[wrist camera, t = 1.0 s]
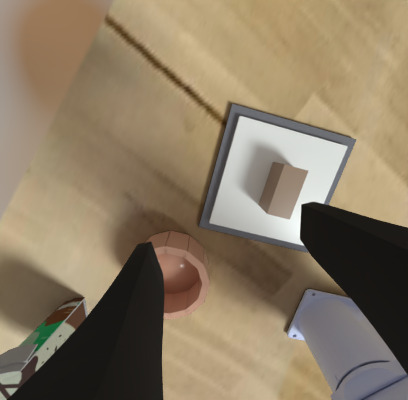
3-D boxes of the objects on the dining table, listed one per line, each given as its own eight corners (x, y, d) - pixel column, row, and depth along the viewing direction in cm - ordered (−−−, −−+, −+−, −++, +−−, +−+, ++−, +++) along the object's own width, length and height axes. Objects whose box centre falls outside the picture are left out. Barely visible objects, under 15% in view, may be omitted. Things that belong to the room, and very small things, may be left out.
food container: (35, 288, 27) (-56, 367, 18) (83, 287, 27) (18, 366, 18) (53, 360, 30) (-16, 461, 21) (95, 360, 31) (46, 459, 21)
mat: (353, 139, 23) (356, 139, 23) (305, 250, 26) (307, 252, 26) (231, 104, 22) (232, 103, 21) (198, 225, 25) (198, 226, 25)
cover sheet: (344, 146, 23) (371, 146, 19) (303, 243, 26) (320, 260, 22) (238, 116, 22) (246, 110, 18) (209, 221, 25) (210, 234, 21)
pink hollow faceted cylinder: (215, 240, 26) (218, 257, 22) (197, 300, 28) (197, 325, 24) (143, 224, 25) (133, 238, 21) (131, 286, 27) (119, 309, 24)
